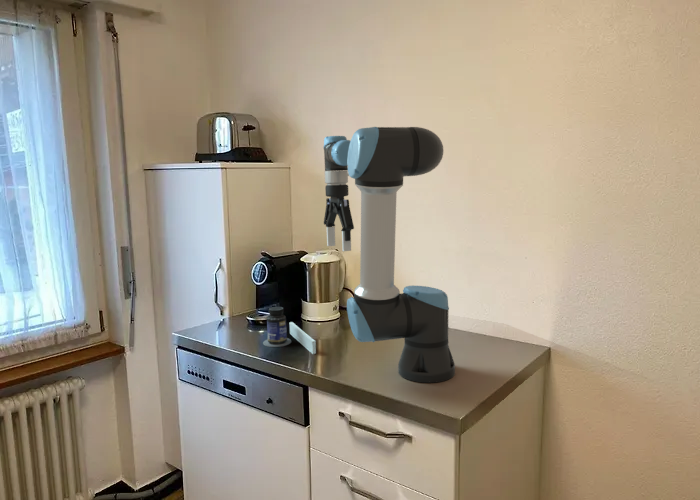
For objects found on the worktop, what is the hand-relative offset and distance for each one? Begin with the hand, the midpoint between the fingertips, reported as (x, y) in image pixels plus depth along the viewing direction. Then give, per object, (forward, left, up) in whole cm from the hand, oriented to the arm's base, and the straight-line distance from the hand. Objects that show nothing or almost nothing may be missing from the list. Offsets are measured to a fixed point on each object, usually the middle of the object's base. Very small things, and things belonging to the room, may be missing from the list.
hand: (338, 248), depth 179 cm
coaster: (-1, +23, -29) cm, 37 cm away
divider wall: (-6, +16, -29) cm, 33 cm away
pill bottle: (-1, +23, -29) cm, 37 cm away
